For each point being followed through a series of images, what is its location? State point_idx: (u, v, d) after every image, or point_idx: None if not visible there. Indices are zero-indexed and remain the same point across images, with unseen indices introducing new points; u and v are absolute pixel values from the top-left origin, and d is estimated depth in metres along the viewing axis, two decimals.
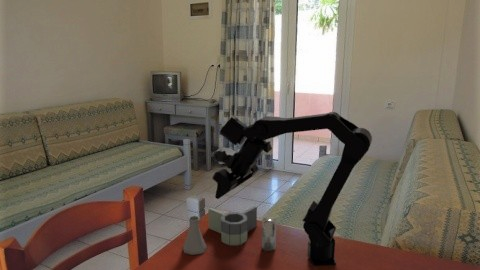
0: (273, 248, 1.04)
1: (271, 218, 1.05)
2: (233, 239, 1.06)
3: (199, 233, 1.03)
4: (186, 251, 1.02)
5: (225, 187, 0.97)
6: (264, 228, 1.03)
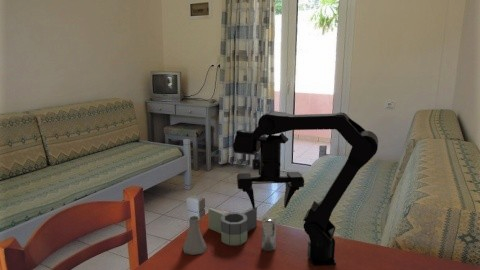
0: (273, 248, 1.04)
1: (271, 218, 1.05)
2: (233, 239, 1.06)
3: (199, 233, 1.03)
4: (186, 251, 1.02)
5: (237, 185, 0.99)
6: (264, 228, 1.03)
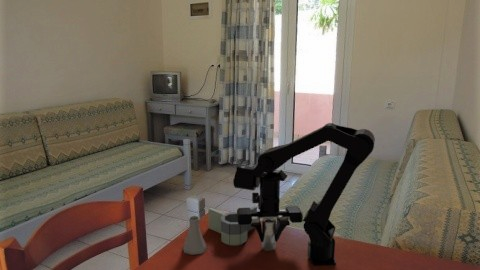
0: (273, 248, 1.04)
1: (271, 218, 1.05)
2: (233, 239, 1.06)
3: (199, 233, 1.03)
4: (186, 251, 1.02)
5: None
6: (264, 228, 1.03)
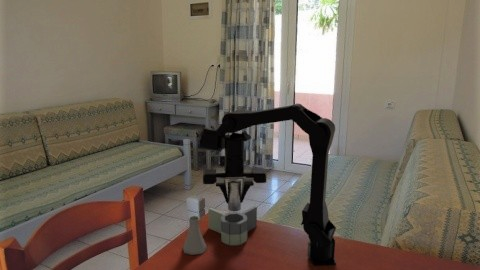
0: (238, 209, 1.07)
1: (236, 179, 1.07)
2: (233, 239, 1.06)
3: (199, 233, 1.03)
4: (186, 251, 1.02)
5: (203, 180, 1.04)
6: (229, 188, 1.05)
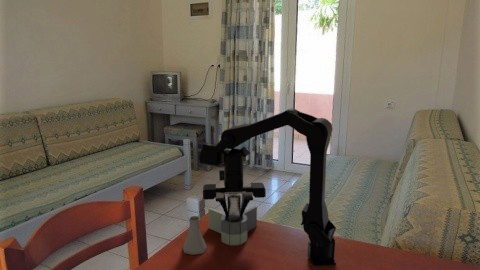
0: None
1: (236, 194, 1.08)
2: (233, 239, 1.06)
3: (199, 233, 1.03)
4: (186, 251, 1.02)
5: None
6: (229, 203, 1.07)
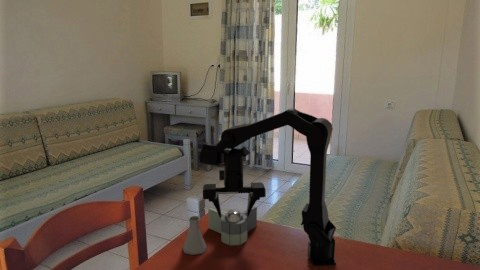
0: None
1: (236, 210, 1.10)
2: (233, 239, 1.06)
3: (199, 233, 1.03)
4: (186, 251, 1.02)
5: None
6: (229, 220, 1.08)
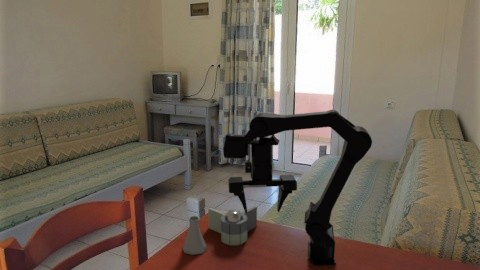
0: None
1: (236, 210, 1.10)
2: (233, 239, 1.06)
3: (199, 233, 1.03)
4: (186, 251, 1.02)
5: None
6: (229, 220, 1.08)
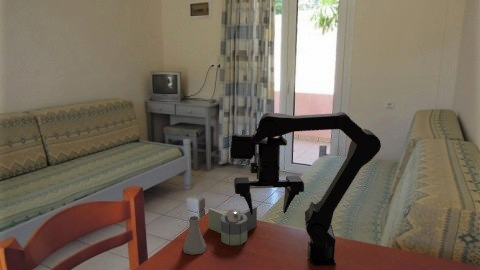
0: None
1: (236, 210, 1.10)
2: (233, 239, 1.06)
3: (199, 233, 1.03)
4: (186, 251, 1.02)
5: (235, 190, 0.94)
6: (229, 220, 1.08)
